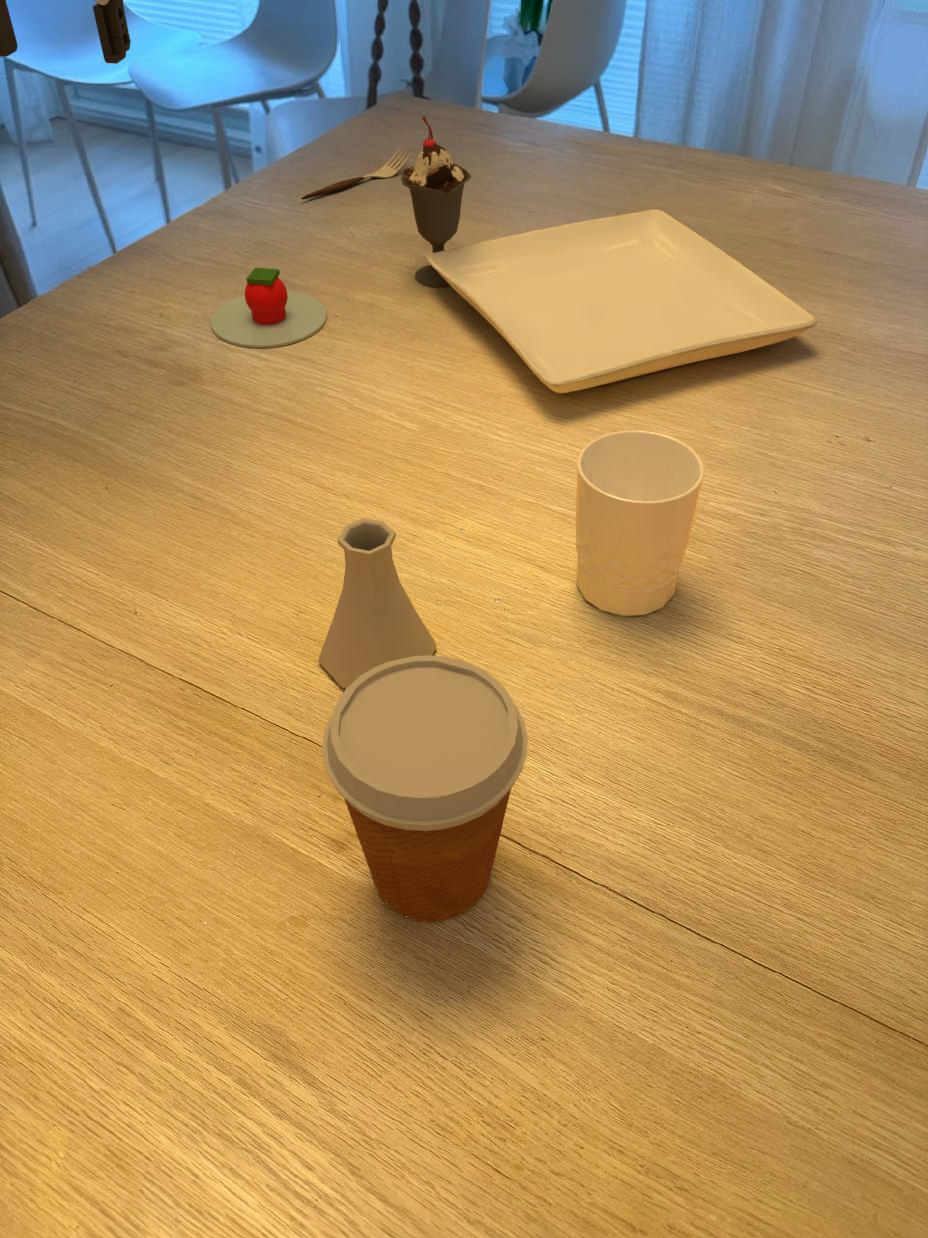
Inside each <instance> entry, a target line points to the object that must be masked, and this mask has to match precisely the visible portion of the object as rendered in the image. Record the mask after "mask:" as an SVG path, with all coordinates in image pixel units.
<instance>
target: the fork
mask: <svg viewBox="0 0 928 1238" xmlns="http://www.w3.org/2000/svg"><path fill="white" fill-rule="evenodd" d="M400 151H401V152H400ZM404 152H405V153H404ZM398 153H399V155H398ZM403 153H404V154H403ZM408 153H409V151H408V150H407V151H405V150H404V149H402V150H401V148H398V149H397V150H396V152H395V154H394V155H393V156H392V157H391V158H390V159H389V160H388V161H387V162H386V163H385V164H384V165H383V166H381V168H379V169H378V170H376V171H374V172H372V173H370V174H369V173H368V174H366V175H361V176H358V177H353V178H348V179H345V180H341V181H338V182H335V183H332V184H330V185H328V186H325V187H323V188H320V189H317V190H314V191H312V192H310V193H308V194H306V195H303V196H302V197H300V200H307V199H312V198H315V197H319V196H322V195H327V194H330V193H334V192H337V191H341V190H343V189H344V190H345V189H346V188H348V187H351V186H353V185H355V184H357V183H359V182H362V181H364V180H367V179H370V178H380V179H389V178H392V177H394V176H395V175H396V174H398V172H399V171H400V170H401V169H402V168H403V167H404V165H405V164H406V163H407V161H408V160H409V158H410V157H411V156H412V154H413V153H412V152H410V153H409V154H408ZM402 155H403V156H402ZM407 155H408V156H407ZM401 156H402V157H401ZM395 157H396V158H395ZM400 157H401V158H400ZM405 157H406V158H405ZM403 160H404V161H403Z"/></svg>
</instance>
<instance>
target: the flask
mask: <svg viewBox="0 0 928 1238" xmlns="http://www.w3.org/2000/svg"><path fill="white" fill-rule="evenodd" d="M340 532H341V533H340V534H339V536H338V537H337V544H338V546H339V547H340V548H341V549H343V552H344V563H345V566H344V575H343V584H342V589H341V592H340V595H339V598H338V602H337V605H336V608H335V612H334V614H333V618H332V620H331V623H330V626H329V629H328V631H327V634H326V637H325V639H324V642H323V645H322V648H321V651H320V653H319V657H318V659H317V662H318V663H319V664H320V666H321V667H323V668H324V669H325V671H326V672H327V673H328V674H329V675H330V676H331V678H333V679H334V681H335V682H336V683H337V684H338V685H339V686H340V687H341V688H344V689H347V688H348V687H349V686H350V685H351V684H352V683H353V682H354V681H355V680H356V679H357V678H358V677H359V676H361V675H363V674H364V673H366V672H368V671H369V670H371V669H373V668H375V667H377V666H379V665H381V664H384V663H386V662H390V661H394V660H399V659H403V658H407V657H412V656H428V655H432V656H433V655H434V652H435V650H436V648H437V643H436V641H435V640H434V638H433V636H432V635H431V633H430V631H429V630H428V628H427V626H426V625H425V623H424V621H423V620H422V619H421V617H420V615H419V614H418V612H417V610H416V609H415V607H414V604H413V603H412V601H411V600H410V597H409V595H408V594H407V592H406V591H405V588H404V586H403V584H402V583H401V581H400V578H399V575H398V571H397V569H396V565H395V561H394V558H393V547H392V545H393V544H394V542H395V540H396V537H397V532H396V531H395V530H394V528H391V526H389V524H388V523H386V522H385V521H384V520H378V519H372V518H366V517H362V518H360V519H358V520H355V521H353V522H351V523H349V524H346V525H345V526H344V527H343V529H342V531H340Z"/></svg>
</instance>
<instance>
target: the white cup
mask: <svg viewBox="0 0 928 1238" xmlns="http://www.w3.org/2000/svg"><path fill="white" fill-rule="evenodd" d="M704 476H705V467H704V463H703V460H702V458H701V457H700V455H699V454H698V453H697V452H696V451H695V450H694V449H693V448H692V447H690V446H689V445H688V444H686V443H685V442H683V441H681V440H680V439H677V438H675V437H673V436H670V435H667V434H664V433H660V432H656V431H649V430H642V429H641V430H640V429H639V430H638V429H636V430H635V429H632V430H631V429H629V430H628V429H627V430H619V431H613V432H608V433H606V434H603V435H600V436H598V437H595V438H594V439H592V440H590V441H589V442H588V443H587V444H585V446H583V448H582V449H581V450H580V452H579V454H578V456H577V460H576V499H575V502H576V503H575V550H576V556H577V557H576V585H577V588H578V589H579V591H580V593H581V596H582V598H583V599H584V600H585V601H587V602H588V603H590V604H591V605H592V606H594V607H595V608H597V609H598V610H600V611H603V612H606V613H610V614H614V615H616V616H617V615H618V616H622V617H628V616H631V617H633V616H645V615H648V614H650V613H653V612H656V611H658V610H660V609H663V608H664V607H665V606H666V604H667V603H668V602H670V599H672V598H673V596H674V595H675V591H676V586H677V582H678V577H679V573H680V568H681V566H682V563H683V562H684V559H685V555H686V550H687V547H688V543H689V539H690V536H691V532H692V528H693V523H694V520H695V516H696V511H697V507H698V501H699V497H700V493H701V489H702V485H703V480H704Z"/></svg>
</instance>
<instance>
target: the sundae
mask: <svg viewBox="0 0 928 1238" xmlns="http://www.w3.org/2000/svg"><path fill="white" fill-rule="evenodd" d="M421 117H422V118H421V119H422V120H423V122H424V123H425V124H426V126H427V128H428V135H427V139H424V141H423V142H422V146H423V148H422V150H421V151H420V152H419V154H418V155H417V157H416V161H415V163H414V166H410V167H408V168H405V169H403V170H402V174H401V178H400V179H401V184H402V185H403V186H404V187H407V188H409V189H408V190H409V193H410V197H411V202H412V208H413V215H414V220H415V224H416V228H417V232H418V234H419V235H420V236H421V237H422V238H423V239H424V240H425V241H426V242H428V243H429V244H430V246H431V247H432V248H431V249H432V253H436V252H440V251H445V244H446V243H447V242H449V241H450V240H451V239H452V238H453V237H454V236H455V235H456V233H457V232H458V228H459V224H460V218H461V210H462V202H463V201H462V199H463V195H464V194H463V193H464V188H465V184H466V183H467V182H468V181H470V180H471V178H472V175H471V173H469V171H468V170H467V169H465V168H464V167H462V166H460V165H459V164H457V163H454V161H453V160H452V157H451V155H450V153H449V152H448V151H447V150H446V148H444V147H443V146H441V145H439V144H438V143H437V141H436V140H434V136H433V135H434V134H433V131H432V128H431V126H430V124H429V122H428V121H427V117H426V116H425V115H423V116H421ZM414 278H415V280H416V281H417V282H418V283H420V284H422V285H424V286H427V287H434V288H443V287H449V286H450V287H451V285H450V284H449V283H448V282H447V281H446V280H445V279H444V278H443V277H442V276H441V275H440V273H439V272H438V271H437V270H436V269H434V268H433V266H432V265H431V264H427V265H425V266H422V267H420V268H419V269H418V270H416V271H415V273H414Z"/></svg>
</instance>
